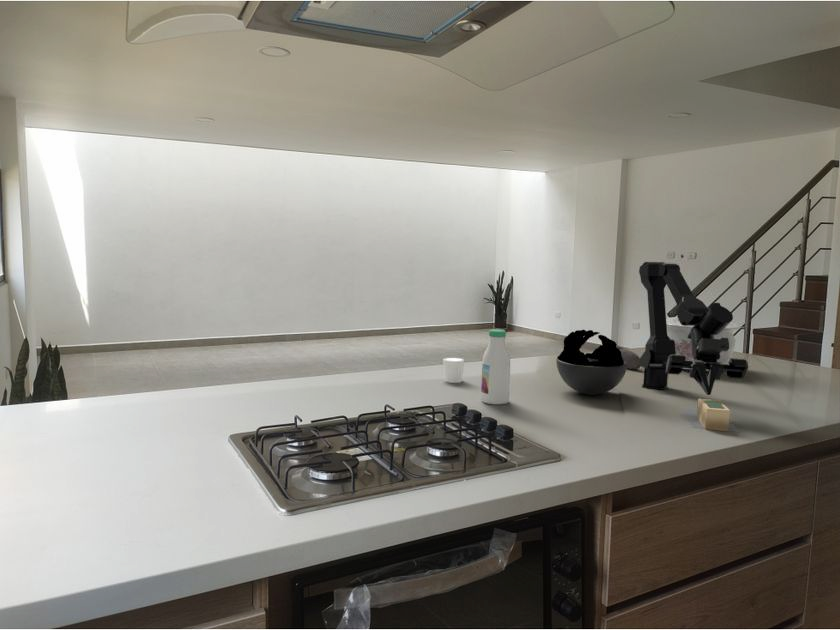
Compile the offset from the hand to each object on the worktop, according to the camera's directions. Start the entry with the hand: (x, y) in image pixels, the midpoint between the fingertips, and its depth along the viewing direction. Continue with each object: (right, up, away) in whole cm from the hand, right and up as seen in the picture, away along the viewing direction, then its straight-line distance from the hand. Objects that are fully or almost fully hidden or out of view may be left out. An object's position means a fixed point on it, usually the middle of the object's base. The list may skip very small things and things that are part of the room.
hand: (709, 394), depth 148 cm
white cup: (-63, -1, +38) cm, 73 cm away
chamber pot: (+28, 0, +67) cm, 72 cm away
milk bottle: (-53, -4, +14) cm, 54 cm away
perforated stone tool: (+1, +1, +65) cm, 65 cm away
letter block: (0, -4, 0) cm, 4 cm away
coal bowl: (-23, -3, +25) cm, 34 cm away
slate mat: (-1, -7, -1) cm, 7 cm away
